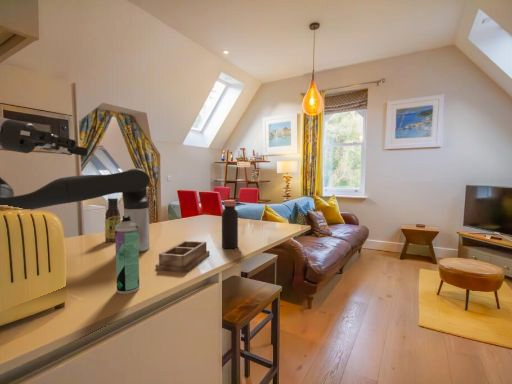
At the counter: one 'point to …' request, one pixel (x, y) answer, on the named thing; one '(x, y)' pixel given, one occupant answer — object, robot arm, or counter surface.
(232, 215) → the vinegar
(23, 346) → the counter surface
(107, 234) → the sauce bottle
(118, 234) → the spray can
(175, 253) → the rack
